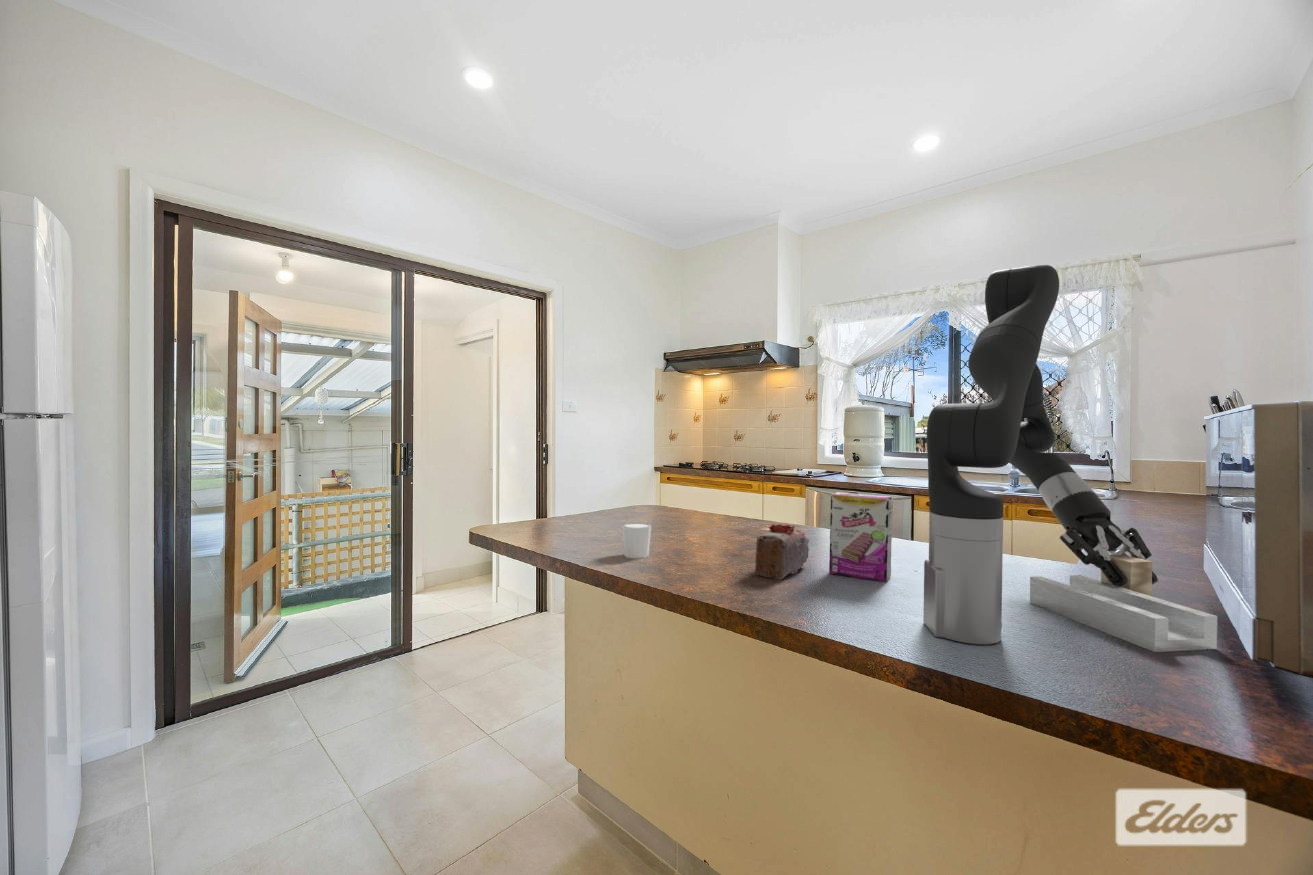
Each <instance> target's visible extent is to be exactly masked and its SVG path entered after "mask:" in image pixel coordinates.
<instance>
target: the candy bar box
mask: <svg viewBox="0 0 1313 875" xmlns="http://www.w3.org/2000/svg"><path fill="white" fill-rule="evenodd" d="M893 499H894V498H893V496H890V495H889V496H888V495H876V494H865V493H853V492H852V493H851V492H842V491H841V492H840V491H836V492H834V493H831V495H830V515H829V516H830V517H829V518H830V522H829V523H830V524H829V526H830V528H829V530H830V531H829V560H828V561H829V562H828V563H829V564H828V567H829V568H828V569H829V571H828V572H829V574H831V575H839V576H843V577H844V576H845V577H849V578H857V579H863V580H869V581H876V582H881V583H882V582H883V583H887V582H888V581H889V579H891V576H892V542H893V540H892V537H893V536H892V535H893V504H894V503H893V502H894V501H893Z"/></svg>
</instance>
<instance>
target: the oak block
mask: <svg viewBox="0 0 1313 875" xmlns="http://www.w3.org/2000/svg"><path fill="white" fill-rule="evenodd" d="M1126 555H1127V554H1126ZM1126 555H1112V554H1109V556H1110V558H1111V560H1110V561H1114V563H1115V564H1116V565H1117V567H1118V568H1119V569H1120V570H1121V572H1122V573H1123V574H1124V576H1125V577H1126V578H1127V580H1128V581H1127V583H1125V584H1124V585H1122V586H1121V587H1122V588H1125V589H1128V590H1132V591H1135V592H1138V593H1142V594H1145V595H1149V596H1152V595H1153V594H1152V593H1153V592H1152V591H1153V585H1152V571H1153V561H1151V560H1147V559H1146V560H1143V559H1139V558H1134V557H1132V556H1131V555H1128V556H1126ZM1100 575H1101V576H1100V581H1101V582H1105V583H1108V584H1112V583H1111V582H1110V581H1109V580H1108V579H1107V577H1106V576H1105V575H1104V573H1103V572H1102V571H1101V570H1100ZM1112 585H1113V584H1112ZM1152 597H1153V596H1152Z"/></svg>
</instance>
